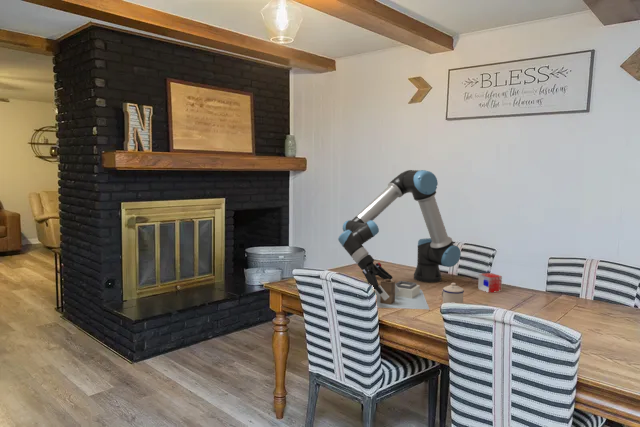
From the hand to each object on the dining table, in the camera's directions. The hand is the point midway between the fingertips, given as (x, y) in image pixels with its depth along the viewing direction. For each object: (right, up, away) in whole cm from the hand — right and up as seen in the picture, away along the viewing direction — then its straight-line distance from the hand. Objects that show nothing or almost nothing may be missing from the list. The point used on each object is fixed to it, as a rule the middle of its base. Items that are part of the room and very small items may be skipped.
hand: (392, 295), depth 213 cm
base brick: (+8, -3, +16) cm, 18 cm away
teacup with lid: (+25, -5, -3) cm, 26 cm away
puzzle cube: (+54, -2, +27) cm, 60 cm away
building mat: (+5, -4, +9) cm, 11 cm away
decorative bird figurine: (-4, +1, +51) cm, 51 cm away
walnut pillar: (-2, -4, +2) cm, 4 cm away
